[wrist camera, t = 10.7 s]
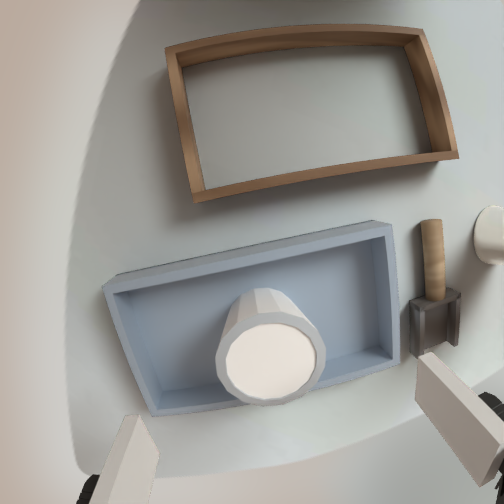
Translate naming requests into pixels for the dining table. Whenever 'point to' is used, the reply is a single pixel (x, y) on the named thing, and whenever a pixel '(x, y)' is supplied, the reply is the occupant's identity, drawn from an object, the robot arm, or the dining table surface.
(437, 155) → the walnut frame
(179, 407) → the bin
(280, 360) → the white faceted cup
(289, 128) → the dining table surface
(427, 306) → the hand scoop
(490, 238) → the silver metal tumbler
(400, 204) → the dining table surface
